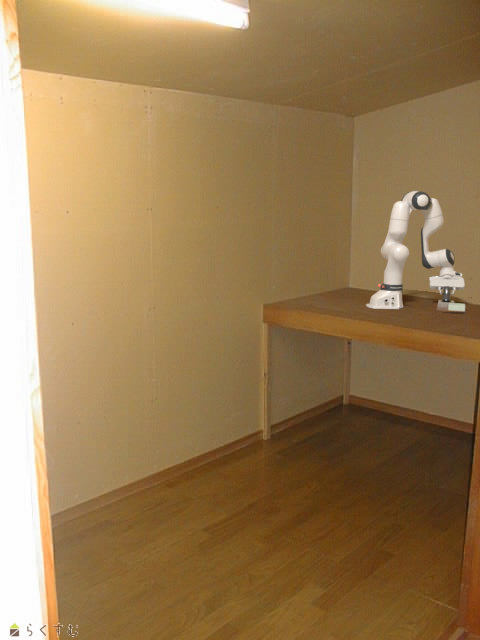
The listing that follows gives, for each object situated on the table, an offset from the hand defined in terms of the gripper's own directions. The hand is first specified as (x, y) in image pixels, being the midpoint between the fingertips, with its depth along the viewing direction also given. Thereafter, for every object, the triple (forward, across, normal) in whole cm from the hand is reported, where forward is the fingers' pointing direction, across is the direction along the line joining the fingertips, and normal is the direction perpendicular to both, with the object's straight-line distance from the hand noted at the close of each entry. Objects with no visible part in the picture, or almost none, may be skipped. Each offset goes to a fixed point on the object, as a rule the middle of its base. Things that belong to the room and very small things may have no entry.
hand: (446, 294), depth 356 cm
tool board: (+9, +3, +3) cm, 10 cm away
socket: (+5, 0, +6) cm, 7 cm away
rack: (+12, +6, -2) cm, 13 cm away
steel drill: (+5, 0, +6) cm, 7 cm away
